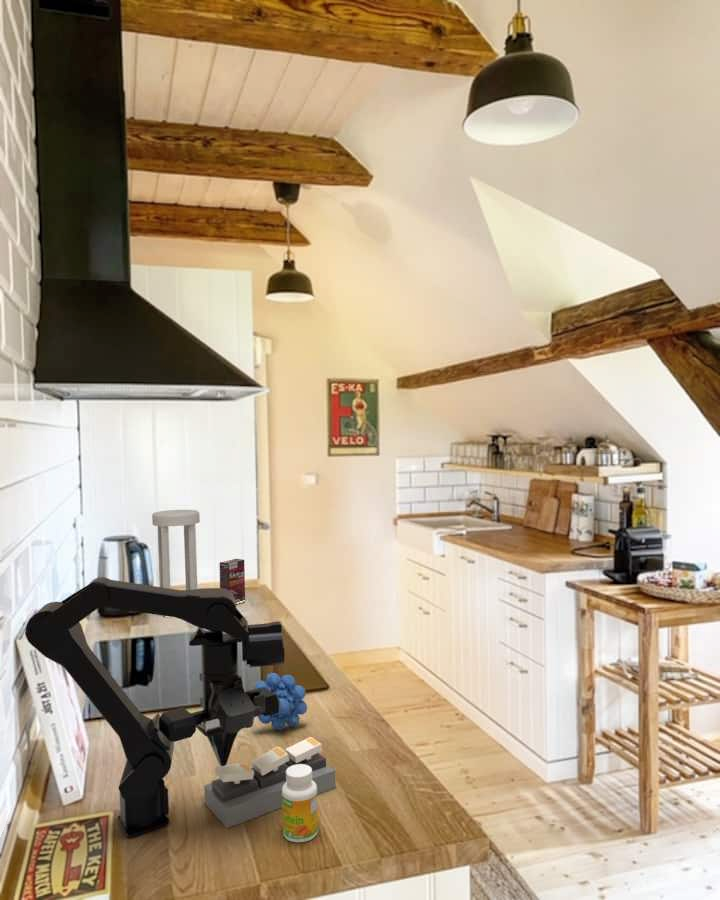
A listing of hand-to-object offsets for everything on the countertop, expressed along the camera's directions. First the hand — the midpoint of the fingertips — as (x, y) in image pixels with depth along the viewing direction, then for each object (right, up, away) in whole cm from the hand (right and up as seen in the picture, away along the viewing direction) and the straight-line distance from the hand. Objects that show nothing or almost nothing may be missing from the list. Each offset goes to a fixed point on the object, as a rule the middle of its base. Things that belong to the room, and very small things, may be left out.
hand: (222, 765), depth 110 cm
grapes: (+6, -7, +30) cm, 31 cm away
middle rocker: (+7, -3, +5) cm, 9 cm away
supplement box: (-24, -5, +137) cm, 139 cm away
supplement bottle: (+13, -8, -6) cm, 16 cm away
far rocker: (+13, -2, +9) cm, 15 cm away
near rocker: (+1, -3, +1) cm, 3 cm away
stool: (-41, -6, +128) cm, 135 cm away
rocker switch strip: (+7, -7, +5) cm, 11 cm away
